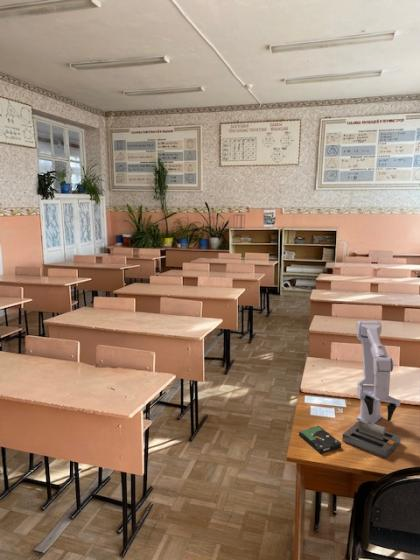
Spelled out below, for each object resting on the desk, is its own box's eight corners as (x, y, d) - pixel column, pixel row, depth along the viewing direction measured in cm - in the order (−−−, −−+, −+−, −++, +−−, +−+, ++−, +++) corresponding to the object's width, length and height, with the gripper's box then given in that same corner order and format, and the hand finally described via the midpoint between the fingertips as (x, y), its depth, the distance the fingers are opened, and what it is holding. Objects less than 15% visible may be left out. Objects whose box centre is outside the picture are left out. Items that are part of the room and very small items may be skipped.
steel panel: (359, 434, 177) (360, 419, 176) (384, 443, 170) (385, 427, 169) (358, 436, 176) (359, 420, 175) (382, 445, 169) (383, 429, 168)
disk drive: (341, 449, 170) (318, 431, 183) (342, 442, 169) (318, 425, 183) (320, 455, 166) (298, 436, 179) (320, 449, 165) (298, 430, 179)
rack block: (357, 427, 184) (357, 420, 184) (400, 443, 172) (400, 436, 171) (342, 441, 174) (342, 433, 174) (386, 458, 162) (387, 450, 161)
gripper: (360, 383, 174) (358, 414, 176) (396, 394, 164) (394, 426, 167) (367, 378, 179) (365, 408, 181) (403, 388, 169) (400, 420, 172)
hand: (379, 417), depth 174 cm, fingers open, 7 cm apart
